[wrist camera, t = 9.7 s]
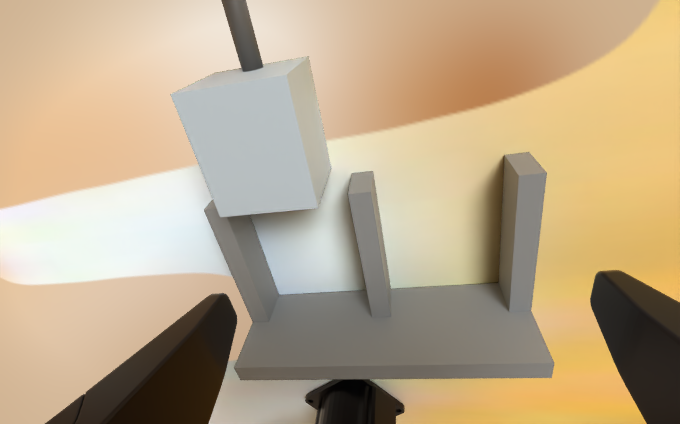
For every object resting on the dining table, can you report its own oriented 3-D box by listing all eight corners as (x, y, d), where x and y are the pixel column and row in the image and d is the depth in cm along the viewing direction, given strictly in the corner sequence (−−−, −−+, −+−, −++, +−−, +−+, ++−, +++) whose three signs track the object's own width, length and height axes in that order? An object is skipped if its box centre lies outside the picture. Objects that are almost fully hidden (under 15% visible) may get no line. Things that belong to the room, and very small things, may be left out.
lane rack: (517, 295, 24) (551, 377, 19) (268, 307, 27) (240, 380, 22) (528, 152, 19) (580, 212, 14) (221, 189, 22) (171, 247, 17)
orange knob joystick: (331, 167, 21) (316, 213, 16) (250, 176, 22) (216, 223, 17) (266, -152, 14) (211, -214, 10) (151, -118, 15) (56, -161, 11)
